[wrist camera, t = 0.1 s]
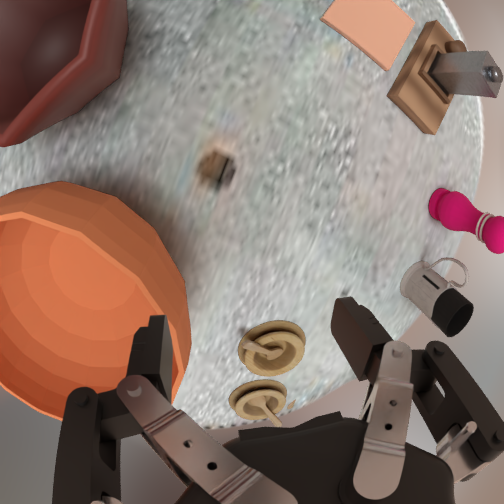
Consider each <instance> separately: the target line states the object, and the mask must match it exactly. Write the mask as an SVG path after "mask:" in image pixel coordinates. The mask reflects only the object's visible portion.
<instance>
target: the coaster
mask: <svg viewBox="0 0 504 504" xmlns="http://www.w3.org/2000/svg"><path fill="white" fill-rule="evenodd" d="M320 20H321V21H323V22H324V23H326V24H327V25H328V26H330V27H331V28H333V29H334V30H336V31H337V32H338V33H340V34H341V35H342V36H344V37H345V38H346V39H348V40H349V41H350V42H352V43H353V44H354V45H355V46H357V47H358V48H359V49H360V50H362V51H363V52H364V53H365V54H366V55H368V56H369V57H370V58H371V59H372V60H373V61H375V62H376V63H377V64H378V65H379V66H380V67H381V68H383V69H384V70H385V71H388V70H389V69H390V67H391V66H392V64H393V62H394V60H395V59H396V57H397V55H398V53H399V51H400V50H401V48H402V46H403V44H404V42H405V41H406V39H407V37H408V35H409V33H410V32H411V30H412V28H413V26H414V24H415V22H414V21H413V20H412V19H411V18H410V17H409V16H408V15H407V14H406V13H405V12H404V11H403V10H402V9H401V8H399V7H398V6H397V5H396V4H395V3H394V2H393V1H392V0H334V1H333V2H332V4H331V5H330V6H329V8H328V9H327V10H326V12H325V13H324V14H323V16H322V17H321V19H320Z"/></svg>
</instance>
